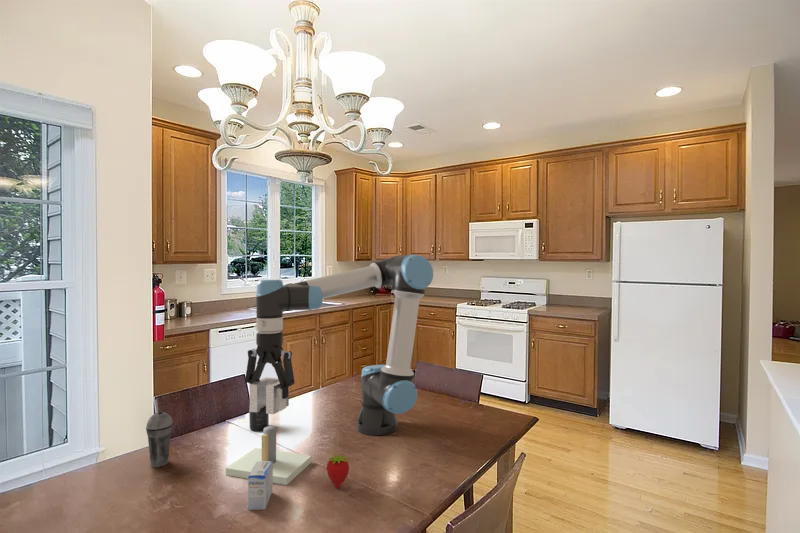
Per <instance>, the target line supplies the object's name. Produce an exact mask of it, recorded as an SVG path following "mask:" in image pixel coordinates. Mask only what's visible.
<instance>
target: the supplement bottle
mask: <svg viewBox="0 0 800 533" xmlns="http://www.w3.org/2000/svg"><path fill="white" fill-rule="evenodd" d="M248 409H249V410H248V411H249V412H248V414H249V429H250V431H252V432H261V431H263V429H264V428H265V427H268V426H270V424H269V423H270V420H269V419H270V417H269V416H270V414H266V406H265V407H263V408H261V409H260V411H259V412H250V405H249V407H248Z"/></svg>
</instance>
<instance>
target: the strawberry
mask: <svg viewBox="0 0 800 533" xmlns="http://www.w3.org/2000/svg"><path fill="white" fill-rule="evenodd" d="M341 452H342V450H340V451H339V453H338V455H336V454H333V457H329V460H328V462H327V464H326V471H327V475H328V478H329V480H330V481H331V483H332V485H333V486H334V487H335V489H338V488H341V486H342V484H344V482H345V480H346V478H348V475H349V471H350V465H349V462H348V460H346V459H349V458H350V457H349V456H341V454H340V453H341Z"/></svg>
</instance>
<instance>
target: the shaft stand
mask: <svg viewBox="0 0 800 533" xmlns="http://www.w3.org/2000/svg"><path fill="white" fill-rule="evenodd" d="M262 431H263V434H262V435H261V448H259V447H255V448H253V449H252V450H250V451H248V452H247V453H246V454H244V455H243V456H241V457H240V458H239V459H237V460H236V461H234V462H232V463H231V464H229V465H228V466H227V467H225V476H230V477H235V478H241V479H247V480H248V476H249V474H250V473H251V471H252V469H253V467H254V465H255V463H256V462H259V461H272V462H273V484H276V485H283V486H288V485H289V484H290V483H291V482H292V481H293V480H294V479H295V478H297V476H298V475H299V474H301V473H302V472H303V471H304V470H305V469H306V468H307V467H308V466H309V465H310V464H312V455H307V454H300V453H293V452H288V451H287V452H286V451H280V450H277V427H276V426H274V425H269V426H268V427H265V428H264V429H263V430H262Z"/></svg>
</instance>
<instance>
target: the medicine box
mask: <svg viewBox="0 0 800 533" xmlns="http://www.w3.org/2000/svg"><path fill="white" fill-rule="evenodd" d="M273 485H274V483H273V462H272V461H259V462H256V463H255V465H254V467H253V469H252V471H251V473H250V474H249V476H248V479H247V487H248V488H247V489H248V490H247V492H248V493H247V509H248V511H258V510H259V511H260V510H262V511H263V510H266V509H267V506H268V504H269V501H270V498H271V496H272V493H273Z"/></svg>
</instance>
